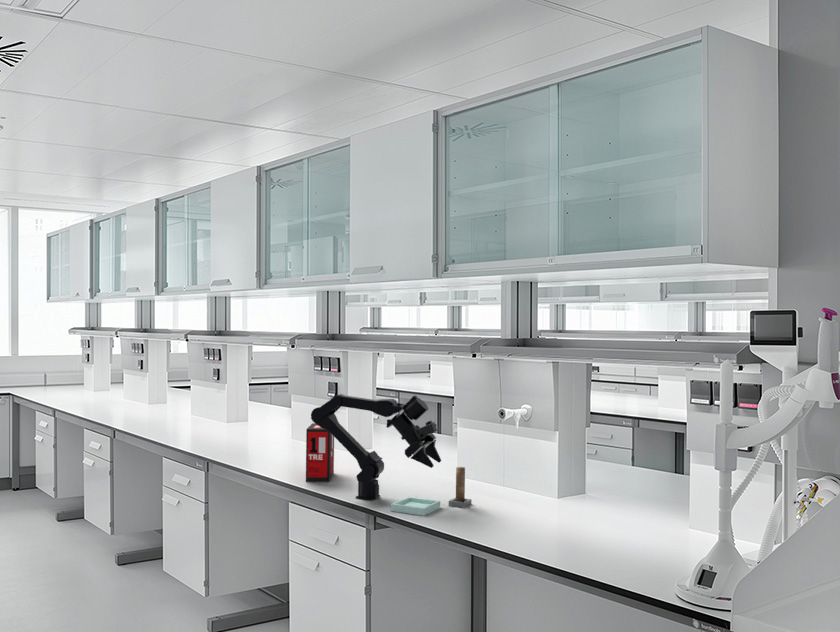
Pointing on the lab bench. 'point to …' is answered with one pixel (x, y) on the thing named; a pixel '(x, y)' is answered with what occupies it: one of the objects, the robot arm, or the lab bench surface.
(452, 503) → the tray
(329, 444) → the cleaning product box
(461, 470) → the pin
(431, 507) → the tray
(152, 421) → the lab bench surface
